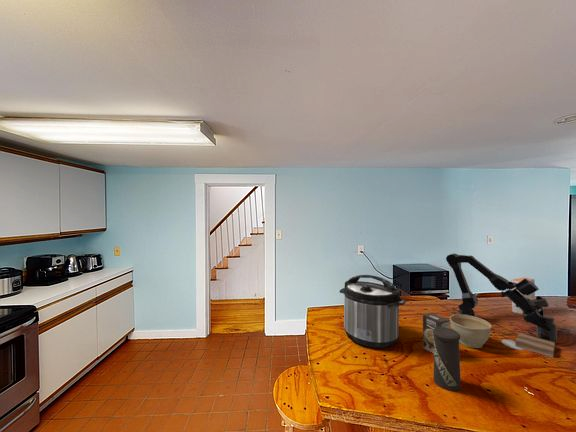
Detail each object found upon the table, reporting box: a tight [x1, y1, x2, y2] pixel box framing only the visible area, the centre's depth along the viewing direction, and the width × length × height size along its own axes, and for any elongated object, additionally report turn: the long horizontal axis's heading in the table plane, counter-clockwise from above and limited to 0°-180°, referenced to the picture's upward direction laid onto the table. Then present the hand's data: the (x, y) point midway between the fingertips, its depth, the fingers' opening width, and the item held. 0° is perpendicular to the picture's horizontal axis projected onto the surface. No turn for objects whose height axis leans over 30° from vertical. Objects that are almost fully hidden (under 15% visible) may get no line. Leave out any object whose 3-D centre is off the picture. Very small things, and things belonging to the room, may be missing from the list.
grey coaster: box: [501, 339, 527, 351], centre depth 115 cm, size 9×9×1 cm
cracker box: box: [510, 277, 536, 316], centre depth 152 cm, size 14×6×21 cm, turn 111°
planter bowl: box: [449, 314, 492, 349], centre depth 117 cm, size 16×16×11 cm
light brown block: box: [514, 332, 556, 358], centre depth 113 cm, size 12×12×2 cm
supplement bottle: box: [536, 314, 558, 345], centre depth 118 cm, size 7×7×12 cm
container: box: [433, 327, 462, 392], centre depth 90 cm, size 9×9×20 cm
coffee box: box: [422, 312, 451, 355], centre depth 110 cm, size 9×6×16 cm
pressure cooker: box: [339, 274, 407, 348], centre depth 126 cm, size 30×28×32 cm
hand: (550, 328), depth 117 cm, fingers closed on supplement bottle, 7 cm apart
